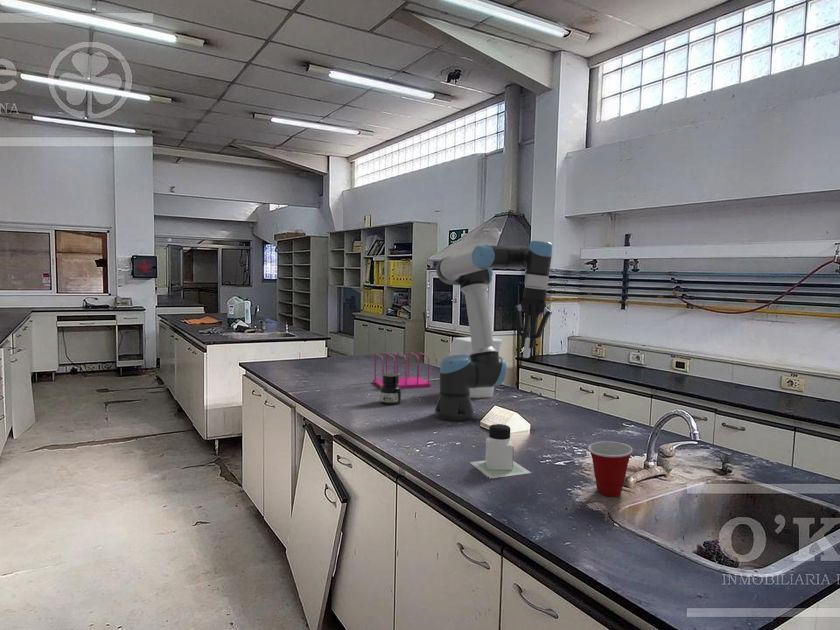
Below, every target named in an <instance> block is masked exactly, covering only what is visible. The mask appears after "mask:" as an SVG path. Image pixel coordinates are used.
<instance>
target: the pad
mask: <svg viewBox="0 0 840 630" xmlns="http://www.w3.org/2000/svg"><path fill="white" fill-rule="evenodd" d="M469 463H470V464H471V465H472V466H473V467H474V468H476V469H477V470H479V472H480V473H482V474H483V475H484V476H486V477H487V478H488V477H489V478H488V479H489V480H491V478H492V479H498V478H499V477H500V478H505V477H513V476H520V475H521V476H522V475H528V474H532V472H531V471H530V470H528V469H527V468H525V467H523V466H522V465H520V464H519V463H517V462H516V461H514V460H513V470H488V468H487V464H486V459H485V460H477V461H470V462H469ZM500 478H499V479H500Z"/></svg>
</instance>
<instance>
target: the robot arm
mask: <svg viewBox="0 0 840 630" xmlns="http://www.w3.org/2000/svg"><path fill="white" fill-rule="evenodd" d="M552 258H553V244H552V242H549V241H543V240H542V241H541V240H531V241H530V242H529V245H528V246H522V245H489V244H482V245H481V244H480V245H476V246H475V247H474V249H472V251H469V252H466V253H463V254H460V255H458V256H452V255H450V256H446V257H443V258H440V260H439V261H438V263H437V264H436V269H435V271H436V275H437V277H438V279H439V280H440V281H441V282H443V283H444V284H447V285H451V286H459V287H460V292H461V293H463V294H464V297H465V298H464V299H465V304H466V305H465V306H466V312H467V318H468V319H467V320H468V327H469V334H470V337H471V342H472V350H473V351H472V352H471V354H470V356H468V355H453V356H449V355H448V356H446V357H444V358H442V359H441V360H440V367H439V398H438V399H437V403H436V406H435V408H434V416H435V417H436V418H437V419H439V420H443V421H444V420H445V421H452V422H453V421H454V422H455V421H456V422H457V421H468V420H471V419H473V418H474V417H475V409H474V406H473V403H472V400H471V398H470V388H481V387H493V386H494V387H499V386H501V385H502V384H503V383H504V381H505V379H506V377H507V373H508V371H507V369H508V368H507V367H508V366H507V362H506V360H505V358H504V357H502V356H499V355H500V354H499V353H500V352H499V353H498V351H497V350H496V349H494V345H493V339H492V338H493V334H492V327H491V325H492V324H491V320H490V319H491V318H490V313H489V306H488V300H487V293H486V292H487V290H489V289H488V288H489V285H490V284H491V282H492V281H493V268H494V269H495V268H496V269H499V268H500V269H525V270H526V271H525V276H524V277H525V279H524V286H525V287H524V288H523V292H522V299H521V302H520V303H519V304H517V305H515V306H513V308H512V309H513V310H514V313H515V320H516V330H517V335H518V336H520V337H522V342H521V347H522V348H524V349H523V354H522V358H524V359H529V358H531V352H532V351H531V349H534V348H535V342H536V339H540V338H541V337H542V335H543V332H544V331H545V328H546V324H547V322H548V319H549V318H550V316H552V314H553V312H552V310H549V309H548V308H547V304H546V299H547V292H548V291H547V289H548V285H549V276H550V270H551V263H552ZM522 311H523V313H524V323H523V317H522V315H523V314H522ZM542 313H543V316H542V318H541V321H540V323H539V325H538V321H539V317H540V315H541V314H542ZM531 318H532V319H531ZM531 320H532V321H531ZM530 325H531V327H530ZM529 332H530V333H529Z"/></svg>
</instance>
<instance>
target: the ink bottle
mask: <svg viewBox="0 0 840 630" xmlns="http://www.w3.org/2000/svg"><path fill="white" fill-rule="evenodd" d="M399 378H400V375H399V373H398V374H397V373H395V374H394V373H387V374H386V373H384V375H383V384H384V385H383V386H381V388H379V389H380V391H379V402H380V404H382V403H383V405H387V404H395V405H399V404H401V403H402V388H401V387H400V386H399V385H398V383H399Z"/></svg>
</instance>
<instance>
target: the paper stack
mask: <svg viewBox="0 0 840 630" xmlns="http://www.w3.org/2000/svg"><path fill="white" fill-rule="evenodd" d="M492 339H493V345H494V349H496V350H497V351H498V353H500V347H501V344H502V342H503V340H502V339H500V338H495V337H494V338H493V337H492ZM472 351H473V350H472V342H471V336H469V337H454V338H453V340H452V343H450V351H449V354H448V356H453V355H468V356H470V354H471V352H472ZM494 389H495V386H493V387H481V388H470V399H471V398H472V399H473V398H475V399H478V398H479V399H483V398H484V399H488V398H489V397H490V398H492V397H493V395H494Z"/></svg>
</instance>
